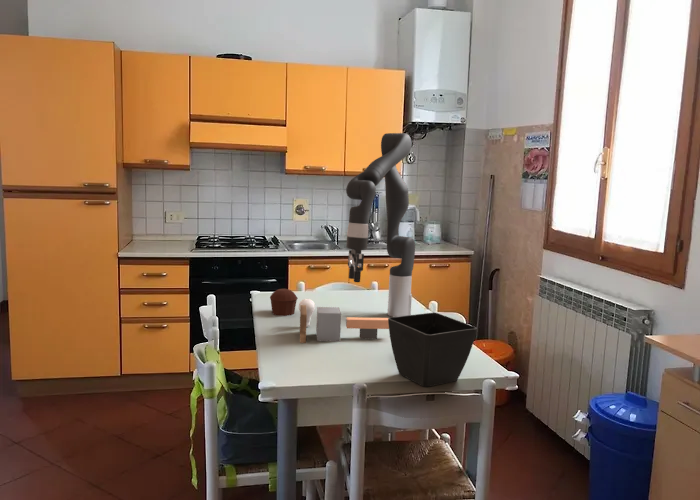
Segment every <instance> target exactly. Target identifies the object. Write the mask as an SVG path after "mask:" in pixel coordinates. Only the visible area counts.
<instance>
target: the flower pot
mask: <svg viewBox="0 0 700 500" xmlns="http://www.w3.org/2000/svg"><path fill="white" fill-rule="evenodd" d="M387 318H388V324H389V329H388V332H389V338H390V343H391V344H390V345H391V349H392V354H393V358H394V362H395V364H396V368H397V372H398V374H399V375H401V376H403V377H405V378H407V379H408V380H410V381H413V382H414V383H416V384H418V385H420V386H422V387H425V388H426V387H427V388H428V387H434V386H439V385H443V384H448V383H454V382H457V381H458V380H459V378H460V376H461V373H462V372H463V369H464V368H465V366H466V363H467V360H468V358H469V356H470V353H471V351H472V348H473V345H474V342H475V338H476V335H477V331H478V327H476V326H474V325H470V324H469V323H465V322H463V321H461V320H458V319H456V318H452V317H449V316H447V315H443V314H441V313H437V312H427V313H425V312H424V313H418V314H416V313H415V314H411V315H408V316H399V317H391V316H390V317H387Z"/></svg>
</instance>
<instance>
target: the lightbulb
mask: <svg viewBox="0 0 700 500" xmlns="http://www.w3.org/2000/svg"><path fill="white" fill-rule="evenodd" d="M300 305H306V311H307V322H306V328H308V327H310V325H311V324H310V323H311V319H312V315H313V313H314V312H315V309H316V303H315V302H314V301H313V300H312V299H310V298H303V299H302V300H301V301H299V303H298V310H299V311H300Z"/></svg>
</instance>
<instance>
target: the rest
mask: <svg viewBox="0 0 700 500" xmlns="http://www.w3.org/2000/svg"><path fill="white" fill-rule="evenodd" d="M359 339H360V340H378V329H359Z"/></svg>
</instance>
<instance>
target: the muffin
mask: <svg viewBox="0 0 700 500" xmlns="http://www.w3.org/2000/svg"><path fill="white" fill-rule="evenodd" d="M269 298H270V304H271V313H272V314H273V315H274V316H281V317H288V316H293V315H294V314H295V310H296V307H297V301H298V297H297V295H296V294H295V292H294V291H293V290H291V289H288V288H278V289H276V290H274V291H273V292H272V293H271V295H270V297H269Z"/></svg>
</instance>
